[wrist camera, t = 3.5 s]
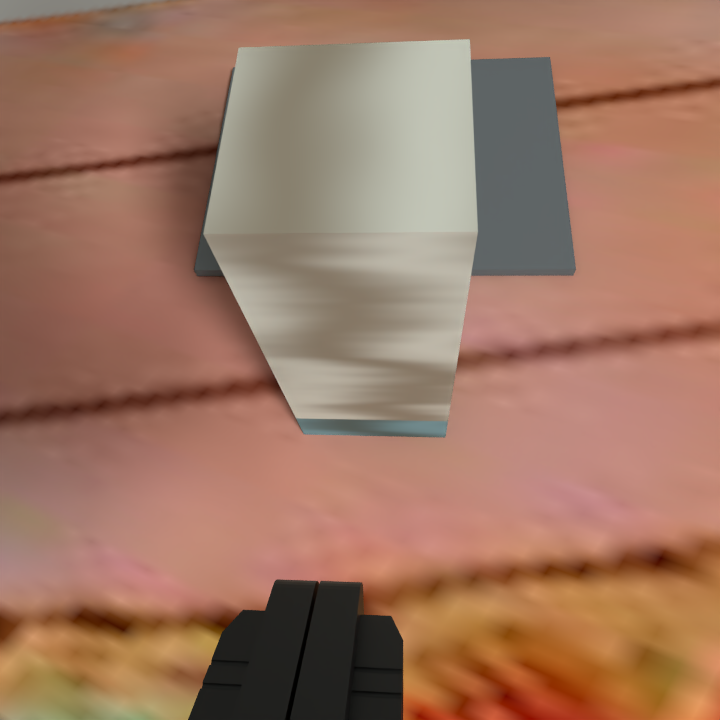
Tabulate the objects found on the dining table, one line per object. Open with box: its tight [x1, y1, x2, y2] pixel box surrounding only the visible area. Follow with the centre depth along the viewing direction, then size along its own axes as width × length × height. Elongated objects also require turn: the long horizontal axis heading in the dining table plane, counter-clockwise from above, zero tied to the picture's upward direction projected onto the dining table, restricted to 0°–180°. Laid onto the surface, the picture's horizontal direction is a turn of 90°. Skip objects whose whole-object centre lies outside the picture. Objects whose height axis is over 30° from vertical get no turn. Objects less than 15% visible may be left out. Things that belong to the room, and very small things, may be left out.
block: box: [203, 39, 478, 437], centre depth 21 cm, size 6×6×14 cm
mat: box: [194, 57, 576, 276], centre depth 32 cm, size 18×14×1 cm
